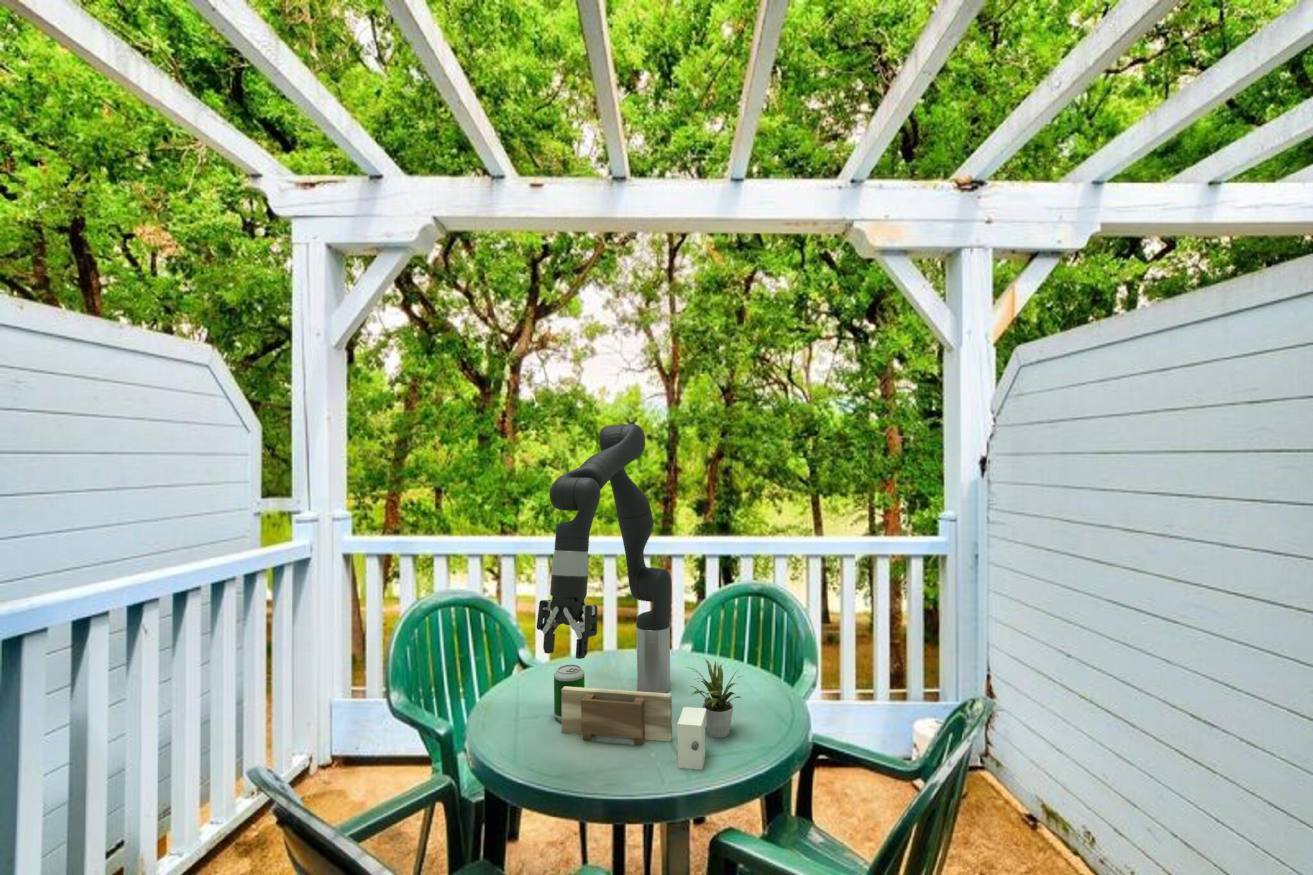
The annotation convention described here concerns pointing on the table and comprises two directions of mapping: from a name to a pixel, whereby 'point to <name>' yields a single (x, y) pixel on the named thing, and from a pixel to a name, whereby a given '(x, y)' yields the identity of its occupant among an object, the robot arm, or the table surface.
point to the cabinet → (691, 738)
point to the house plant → (717, 703)
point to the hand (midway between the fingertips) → (564, 655)
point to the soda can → (566, 684)
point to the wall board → (617, 714)
